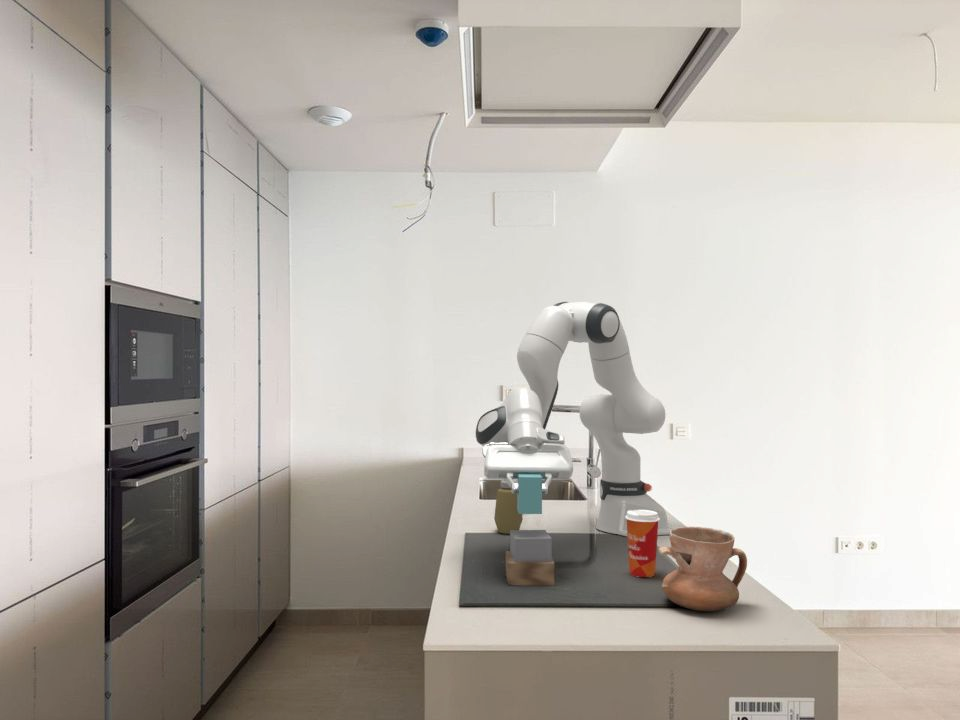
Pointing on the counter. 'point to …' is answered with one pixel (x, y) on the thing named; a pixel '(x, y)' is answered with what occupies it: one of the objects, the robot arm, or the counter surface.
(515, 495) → the squeeze bottle
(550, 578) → the walnut base block
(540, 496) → the teal block
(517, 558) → the grey top block
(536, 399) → the robot arm
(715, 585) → the ceramic jug
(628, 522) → the paper cup
